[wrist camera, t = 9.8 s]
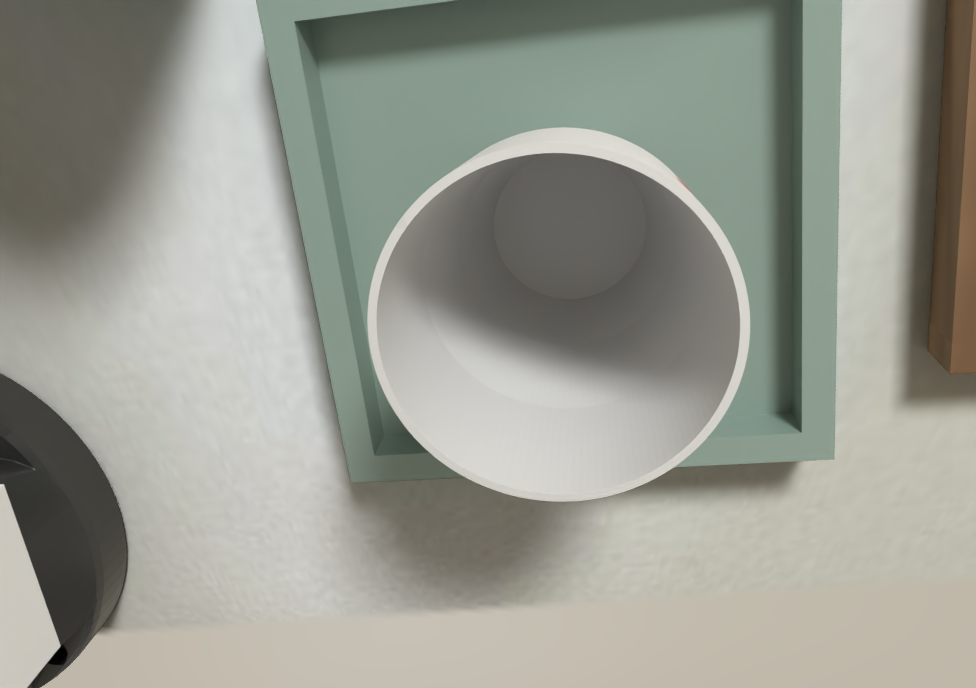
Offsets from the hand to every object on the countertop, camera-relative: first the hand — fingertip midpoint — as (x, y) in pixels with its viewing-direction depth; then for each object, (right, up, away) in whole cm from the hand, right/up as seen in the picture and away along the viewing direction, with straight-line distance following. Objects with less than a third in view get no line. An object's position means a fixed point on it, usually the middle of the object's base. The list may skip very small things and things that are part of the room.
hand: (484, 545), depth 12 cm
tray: (+3, +7, +17) cm, 19 cm away
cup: (+3, +7, +17) cm, 18 cm away
